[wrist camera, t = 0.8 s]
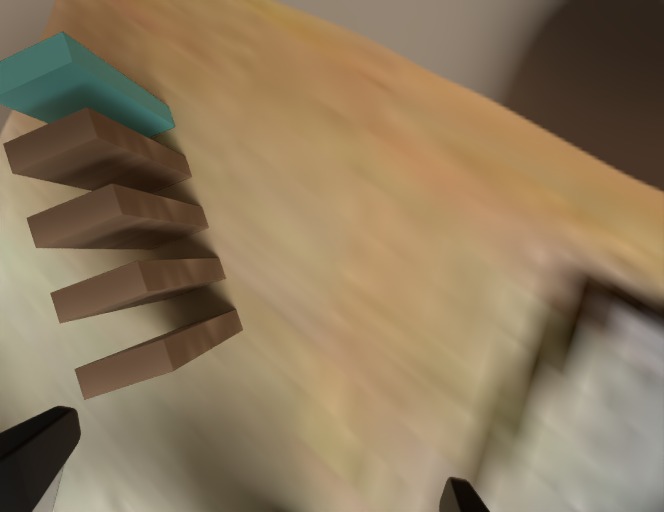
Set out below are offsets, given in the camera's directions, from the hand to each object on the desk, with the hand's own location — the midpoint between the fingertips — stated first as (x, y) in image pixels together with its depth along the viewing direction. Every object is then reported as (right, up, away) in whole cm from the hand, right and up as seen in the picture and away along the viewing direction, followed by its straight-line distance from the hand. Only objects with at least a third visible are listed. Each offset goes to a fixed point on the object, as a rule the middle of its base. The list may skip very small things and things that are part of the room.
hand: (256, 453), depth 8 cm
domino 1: (-7, -1, +18) cm, 19 cm away
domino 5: (-13, +14, +18) cm, 26 cm away
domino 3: (-10, +7, +18) cm, 22 cm away
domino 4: (-11, +11, +18) cm, 24 cm away
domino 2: (-9, +3, +18) cm, 20 cm away
